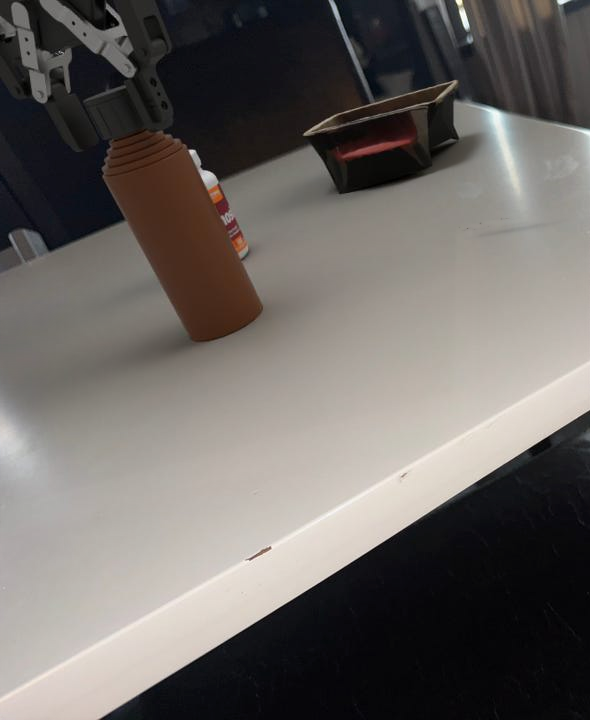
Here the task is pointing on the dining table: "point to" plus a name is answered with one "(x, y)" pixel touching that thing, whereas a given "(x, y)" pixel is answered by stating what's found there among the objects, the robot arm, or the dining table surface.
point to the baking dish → (385, 137)
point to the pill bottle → (222, 207)
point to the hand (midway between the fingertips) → (124, 138)
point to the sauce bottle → (180, 233)
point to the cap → (114, 113)
